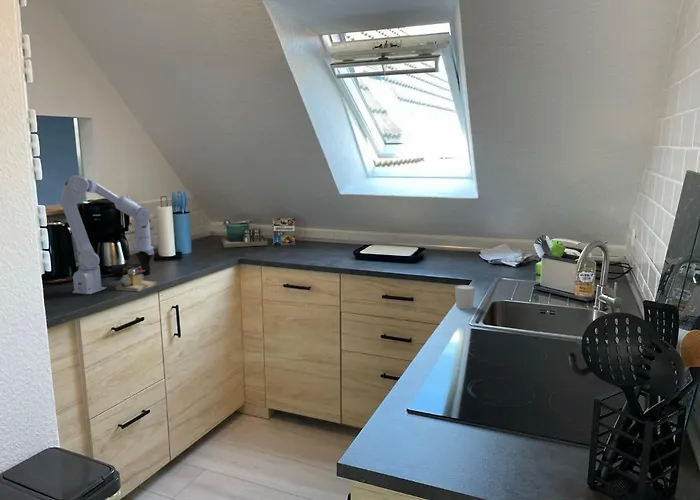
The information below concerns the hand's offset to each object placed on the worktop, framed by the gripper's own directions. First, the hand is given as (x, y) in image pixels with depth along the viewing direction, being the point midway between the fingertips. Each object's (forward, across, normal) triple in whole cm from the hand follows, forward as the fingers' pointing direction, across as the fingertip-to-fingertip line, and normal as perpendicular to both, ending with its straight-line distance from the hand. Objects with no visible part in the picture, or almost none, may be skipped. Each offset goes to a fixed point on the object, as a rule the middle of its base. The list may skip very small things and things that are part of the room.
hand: (145, 269), depth 220 cm
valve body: (+6, -1, +6) cm, 8 cm away
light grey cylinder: (+6, -109, -66) cm, 127 cm away
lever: (+1, 0, +3) cm, 4 cm away
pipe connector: (+6, +17, 0) cm, 18 cm away
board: (+6, -3, +5) cm, 8 cm away
